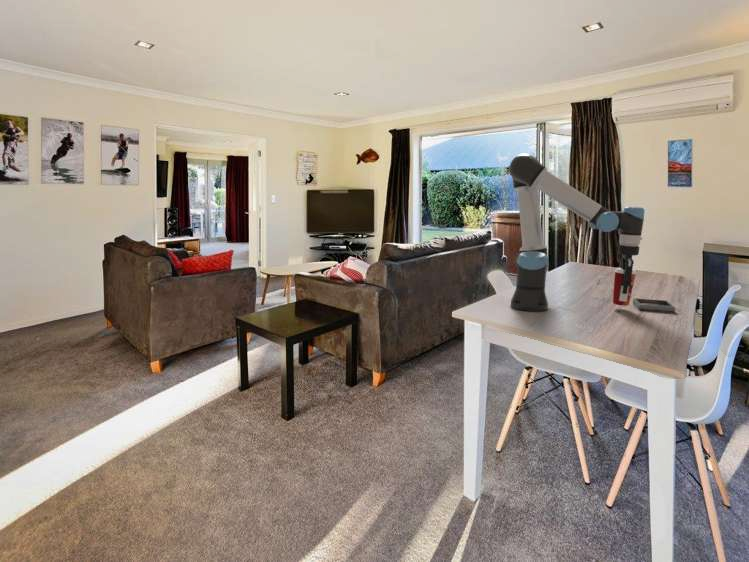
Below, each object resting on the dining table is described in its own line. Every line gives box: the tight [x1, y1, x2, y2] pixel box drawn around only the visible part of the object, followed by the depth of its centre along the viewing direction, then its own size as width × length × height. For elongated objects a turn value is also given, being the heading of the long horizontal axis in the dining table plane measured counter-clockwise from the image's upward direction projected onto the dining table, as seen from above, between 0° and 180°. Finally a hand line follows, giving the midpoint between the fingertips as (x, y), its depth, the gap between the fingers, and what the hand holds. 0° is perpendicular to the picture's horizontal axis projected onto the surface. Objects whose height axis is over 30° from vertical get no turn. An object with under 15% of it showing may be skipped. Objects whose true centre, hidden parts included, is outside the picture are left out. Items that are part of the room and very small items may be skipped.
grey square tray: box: [632, 297, 676, 314], centre depth 190 cm, size 13×13×2 cm
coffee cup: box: [612, 267, 638, 307], centre depth 186 cm, size 8×8×15 cm
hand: (621, 298), depth 187 cm, fingers closed on coffee cup, 7 cm apart
